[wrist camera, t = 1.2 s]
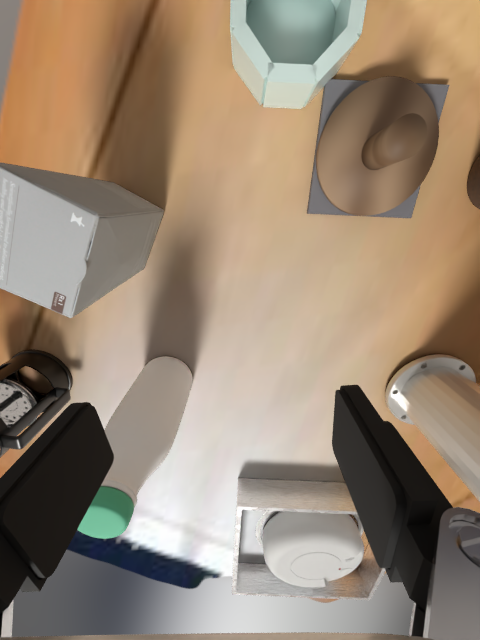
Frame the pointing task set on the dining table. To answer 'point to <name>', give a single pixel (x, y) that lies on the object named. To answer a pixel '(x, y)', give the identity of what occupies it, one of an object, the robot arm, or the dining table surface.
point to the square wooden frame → (299, 500)
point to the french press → (30, 397)
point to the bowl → (292, 46)
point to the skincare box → (70, 237)
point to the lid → (377, 146)
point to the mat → (330, 101)
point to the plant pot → (474, 183)
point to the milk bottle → (138, 442)
